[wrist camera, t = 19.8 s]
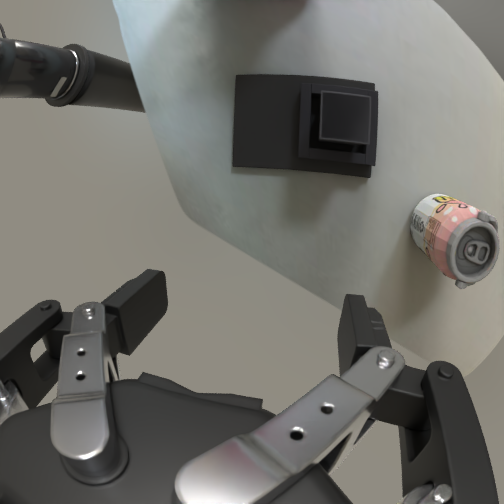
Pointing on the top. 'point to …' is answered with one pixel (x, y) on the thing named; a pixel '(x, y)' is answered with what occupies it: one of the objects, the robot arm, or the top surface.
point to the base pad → (296, 125)
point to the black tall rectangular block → (344, 118)
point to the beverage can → (456, 238)
